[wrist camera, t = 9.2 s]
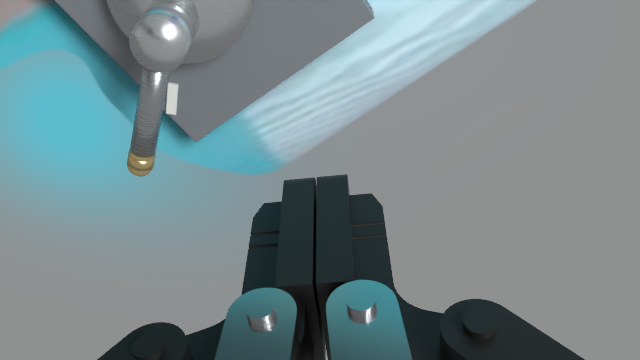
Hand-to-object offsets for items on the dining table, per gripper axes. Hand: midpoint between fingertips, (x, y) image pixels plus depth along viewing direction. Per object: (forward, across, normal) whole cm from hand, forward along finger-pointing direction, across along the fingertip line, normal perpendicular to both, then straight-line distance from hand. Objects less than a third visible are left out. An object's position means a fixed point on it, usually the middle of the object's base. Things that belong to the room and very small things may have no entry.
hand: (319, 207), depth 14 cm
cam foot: (+27, +10, +5) cm, 29 cm away
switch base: (+29, +8, +2) cm, 30 cm away
